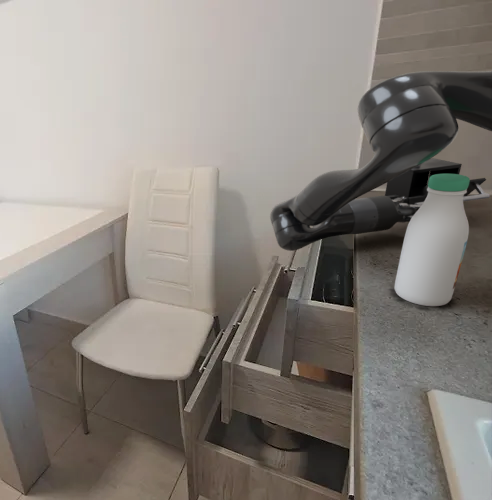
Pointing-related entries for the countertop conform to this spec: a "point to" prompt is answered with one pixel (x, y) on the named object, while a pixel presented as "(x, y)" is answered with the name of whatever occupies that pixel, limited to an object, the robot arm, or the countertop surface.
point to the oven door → (469, 191)
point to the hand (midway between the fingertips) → (436, 205)
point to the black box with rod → (420, 178)
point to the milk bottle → (434, 243)
